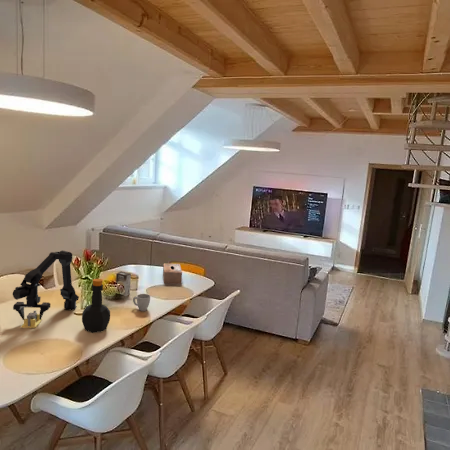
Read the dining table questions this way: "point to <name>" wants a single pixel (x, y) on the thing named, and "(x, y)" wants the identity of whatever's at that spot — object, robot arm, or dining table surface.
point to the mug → (142, 301)
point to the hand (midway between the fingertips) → (32, 319)
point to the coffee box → (124, 281)
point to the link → (32, 316)
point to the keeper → (31, 322)
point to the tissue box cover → (172, 273)
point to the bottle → (96, 311)
